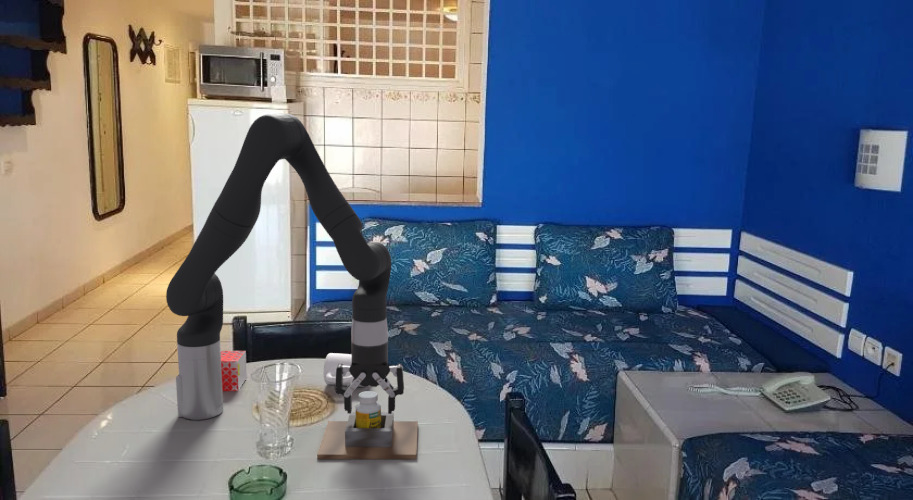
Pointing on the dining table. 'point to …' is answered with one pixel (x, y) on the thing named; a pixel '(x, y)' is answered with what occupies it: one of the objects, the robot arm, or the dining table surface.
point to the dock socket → (369, 440)
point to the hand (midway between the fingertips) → (370, 412)
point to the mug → (331, 366)
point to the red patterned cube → (233, 369)
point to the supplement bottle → (368, 410)
